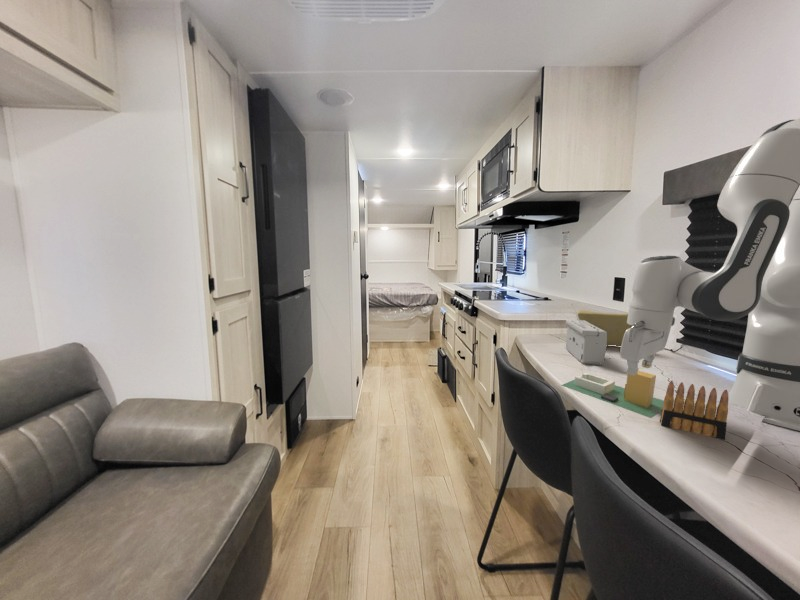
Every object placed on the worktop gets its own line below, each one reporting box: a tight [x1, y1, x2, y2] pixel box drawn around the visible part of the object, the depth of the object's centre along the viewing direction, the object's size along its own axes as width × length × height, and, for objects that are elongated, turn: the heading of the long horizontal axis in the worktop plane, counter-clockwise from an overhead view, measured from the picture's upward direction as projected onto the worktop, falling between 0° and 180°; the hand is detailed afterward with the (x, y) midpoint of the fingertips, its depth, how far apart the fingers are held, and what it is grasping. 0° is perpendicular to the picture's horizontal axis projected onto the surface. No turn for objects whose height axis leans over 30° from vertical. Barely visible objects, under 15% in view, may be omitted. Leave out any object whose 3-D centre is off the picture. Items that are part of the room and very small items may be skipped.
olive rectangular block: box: [576, 309, 632, 346], centre depth 138 cm, size 22×10×15 cm, turn 60°
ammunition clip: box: [659, 380, 729, 441], centre depth 68 cm, size 11×2×12 cm, turn 59°
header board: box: [561, 372, 664, 419], centre depth 87 cm, size 22×14×4 cm, turn 33°
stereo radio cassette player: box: [565, 303, 607, 366], centre depth 121 cm, size 21×8×20 cm, turn 168°
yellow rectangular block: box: [624, 370, 657, 408], centre depth 81 cm, size 6×4×8 cm, turn 33°
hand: (639, 370), depth 81 cm, fingers open, 8 cm apart
